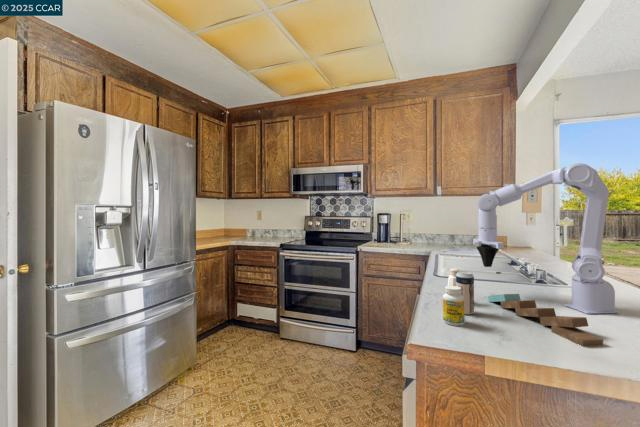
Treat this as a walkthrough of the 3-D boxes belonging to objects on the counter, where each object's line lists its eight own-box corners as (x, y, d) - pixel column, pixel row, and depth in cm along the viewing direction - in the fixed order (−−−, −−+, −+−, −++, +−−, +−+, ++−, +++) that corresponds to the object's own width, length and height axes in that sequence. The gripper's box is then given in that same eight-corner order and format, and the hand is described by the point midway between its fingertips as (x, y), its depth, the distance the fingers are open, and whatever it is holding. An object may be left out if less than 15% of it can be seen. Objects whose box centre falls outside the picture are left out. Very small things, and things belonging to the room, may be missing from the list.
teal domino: (503, 301, 98) (520, 300, 90) (489, 301, 97) (505, 301, 90) (502, 295, 99) (519, 293, 91) (487, 295, 98) (503, 294, 91)
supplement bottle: (462, 319, 82) (462, 285, 82) (466, 327, 77) (465, 290, 77) (442, 317, 84) (441, 284, 83) (443, 325, 78) (443, 289, 78)
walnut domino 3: (539, 316, 78) (571, 318, 70) (553, 315, 79) (586, 317, 72) (540, 324, 77) (573, 327, 70) (555, 323, 78) (588, 326, 71)
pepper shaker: (461, 305, 94) (461, 271, 94) (444, 302, 97) (443, 269, 97) (465, 301, 98) (465, 268, 98) (448, 298, 101) (448, 266, 101)
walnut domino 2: (515, 308, 85) (536, 309, 78) (530, 307, 86) (554, 308, 78) (516, 315, 85) (538, 317, 77) (532, 314, 85) (556, 316, 78)
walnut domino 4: (551, 326, 73) (582, 340, 65) (569, 325, 74) (603, 339, 66) (551, 334, 73) (582, 349, 65) (569, 333, 74) (603, 348, 66)
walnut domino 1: (500, 301, 92) (518, 300, 84) (515, 300, 92) (534, 300, 85) (501, 308, 91) (520, 308, 84) (516, 307, 92) (536, 307, 84)
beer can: (476, 316, 85) (476, 274, 85) (458, 315, 86) (458, 274, 85) (471, 310, 89) (471, 271, 89) (454, 309, 90) (454, 270, 90)
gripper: (465, 227, 111) (465, 263, 111) (489, 229, 96) (489, 270, 97) (483, 227, 111) (483, 262, 111) (509, 229, 97) (510, 270, 97)
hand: (487, 266), depth 104 cm, fingers closed
